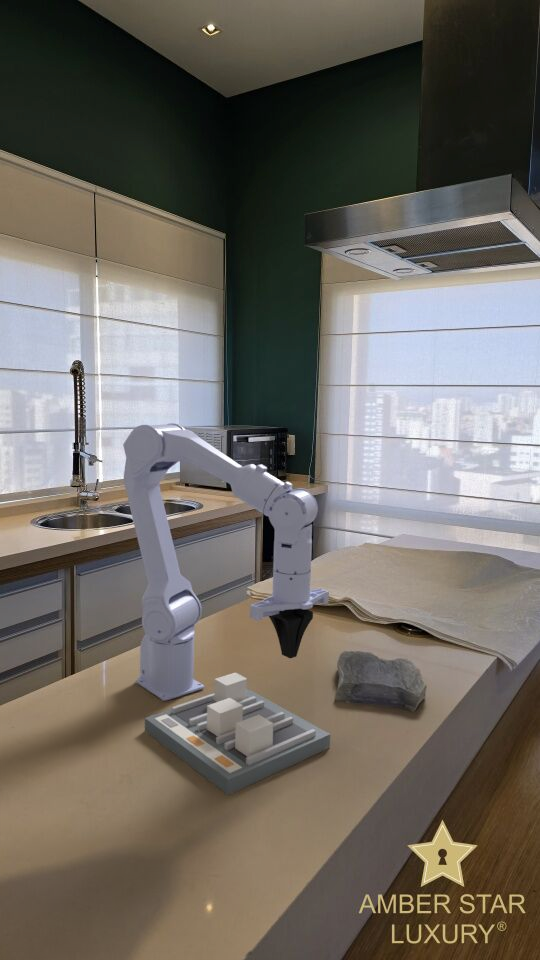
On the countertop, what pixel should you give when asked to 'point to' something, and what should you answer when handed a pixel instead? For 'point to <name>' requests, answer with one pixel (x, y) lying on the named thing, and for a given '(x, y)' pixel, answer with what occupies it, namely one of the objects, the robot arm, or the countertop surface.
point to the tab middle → (224, 716)
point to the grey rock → (379, 681)
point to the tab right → (253, 735)
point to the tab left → (230, 687)
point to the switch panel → (218, 754)
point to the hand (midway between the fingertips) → (289, 655)
